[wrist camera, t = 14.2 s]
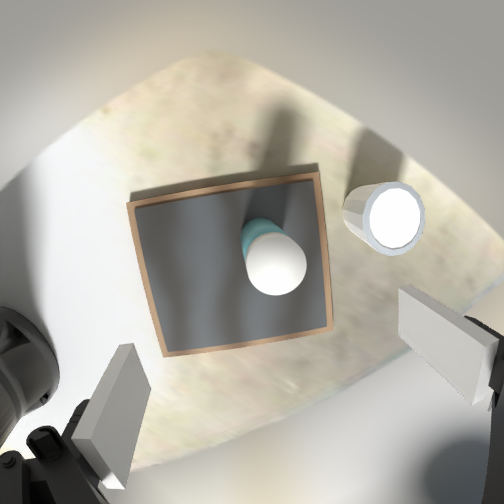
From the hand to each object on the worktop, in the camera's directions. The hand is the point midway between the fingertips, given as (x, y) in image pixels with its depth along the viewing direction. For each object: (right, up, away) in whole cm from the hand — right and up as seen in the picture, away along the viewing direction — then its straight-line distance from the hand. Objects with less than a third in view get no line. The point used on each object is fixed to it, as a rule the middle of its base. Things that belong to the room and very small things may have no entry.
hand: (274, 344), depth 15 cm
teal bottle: (0, +6, +18) cm, 18 cm away
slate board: (-3, +2, +19) cm, 20 cm away
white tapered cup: (+11, +9, +19) cm, 24 cm away
